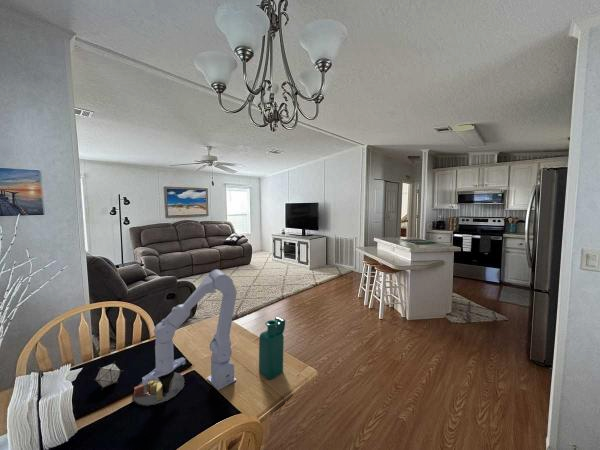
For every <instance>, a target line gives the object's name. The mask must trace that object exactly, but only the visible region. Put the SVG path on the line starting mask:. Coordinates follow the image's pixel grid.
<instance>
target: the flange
mask: <svg viewBox="0 0 600 450" xmlns="http://www.w3.org/2000/svg"><path fill="white" fill-rule="evenodd" d="M173 372H174V377H173V384H172V385H171V387H170V388H169V392H168V393H167V394H166V393H164V392H163V393H162V399H161V400H158V401H157V398H156V394H152V393H149V392H148V391H147V385H144V384H143V383H142V381H141V382H140V383H139V384H138V385H137V386H135V387H133V389H134V391H133V397H132V398H133V401H134V403H135V404H137V405H138V406H141V405H142V406H141V407H151V406H150V405H155V406H157V405H156V404H159V403H162V402H165V401H167V402H169V401H171V400H172V399H171V398H173V397H174V398H176V397H177V396H178V395H179V394H180V393H181V392H182V391H181V390H183V389H184V387H185V384H184V383H185V377H184V376H183V374H181V373H179V372H175V371H173ZM154 381H155V383H158V382H160V380H159V379H158V377H157V378H156V379H154ZM180 391H181V392H180ZM179 392H180V393H179ZM178 393H179V394H178ZM177 394H178V395H177ZM176 395H177V396H176ZM174 398H173V399H174ZM170 399H171V400H170ZM168 400H169V401H168ZM165 403H166V402H165ZM162 404H163V403H162ZM159 405H160V404H159Z"/></svg>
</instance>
